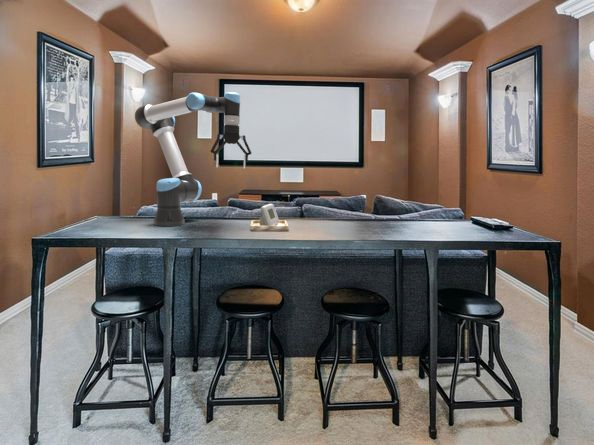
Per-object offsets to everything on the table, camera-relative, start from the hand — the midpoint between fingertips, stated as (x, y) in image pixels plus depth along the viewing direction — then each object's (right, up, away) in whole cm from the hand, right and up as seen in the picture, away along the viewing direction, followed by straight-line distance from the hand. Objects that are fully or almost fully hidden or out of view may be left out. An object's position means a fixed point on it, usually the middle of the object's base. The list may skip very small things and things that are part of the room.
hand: (230, 168), depth 219 cm
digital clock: (+20, -29, -2) cm, 36 cm away
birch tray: (+19, -30, -2) cm, 36 cm away
